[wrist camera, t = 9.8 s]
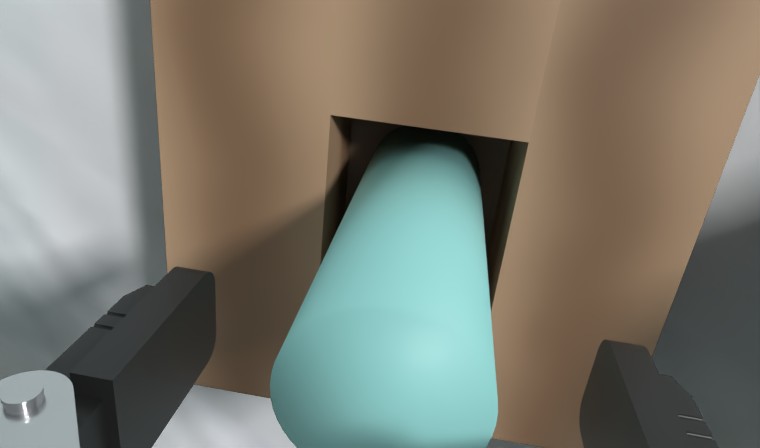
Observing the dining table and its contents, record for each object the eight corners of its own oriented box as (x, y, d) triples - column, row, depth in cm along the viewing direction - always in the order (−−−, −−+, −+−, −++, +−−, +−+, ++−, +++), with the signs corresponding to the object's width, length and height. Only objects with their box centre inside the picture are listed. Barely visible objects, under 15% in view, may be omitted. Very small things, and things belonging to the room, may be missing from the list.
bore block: (717, -42, 18) (804, -44, 13) (585, 368, 24) (612, 459, 20) (219, -96, 19) (142, -115, 14) (225, 307, 26) (174, 380, 21)
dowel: (489, 129, 20) (520, 329, 9) (469, 232, 21) (475, 505, 11) (375, 114, 20) (272, 288, 9) (364, 216, 22) (267, 465, 11)
